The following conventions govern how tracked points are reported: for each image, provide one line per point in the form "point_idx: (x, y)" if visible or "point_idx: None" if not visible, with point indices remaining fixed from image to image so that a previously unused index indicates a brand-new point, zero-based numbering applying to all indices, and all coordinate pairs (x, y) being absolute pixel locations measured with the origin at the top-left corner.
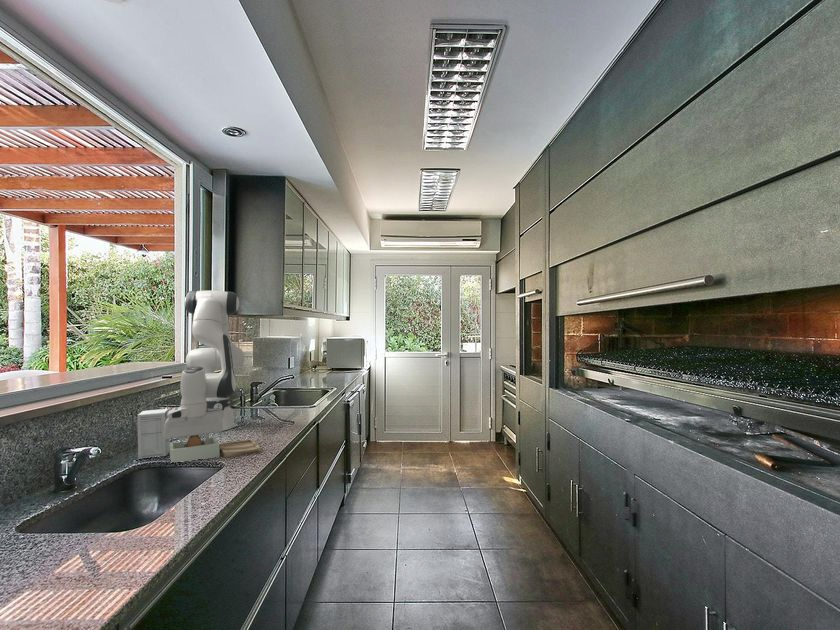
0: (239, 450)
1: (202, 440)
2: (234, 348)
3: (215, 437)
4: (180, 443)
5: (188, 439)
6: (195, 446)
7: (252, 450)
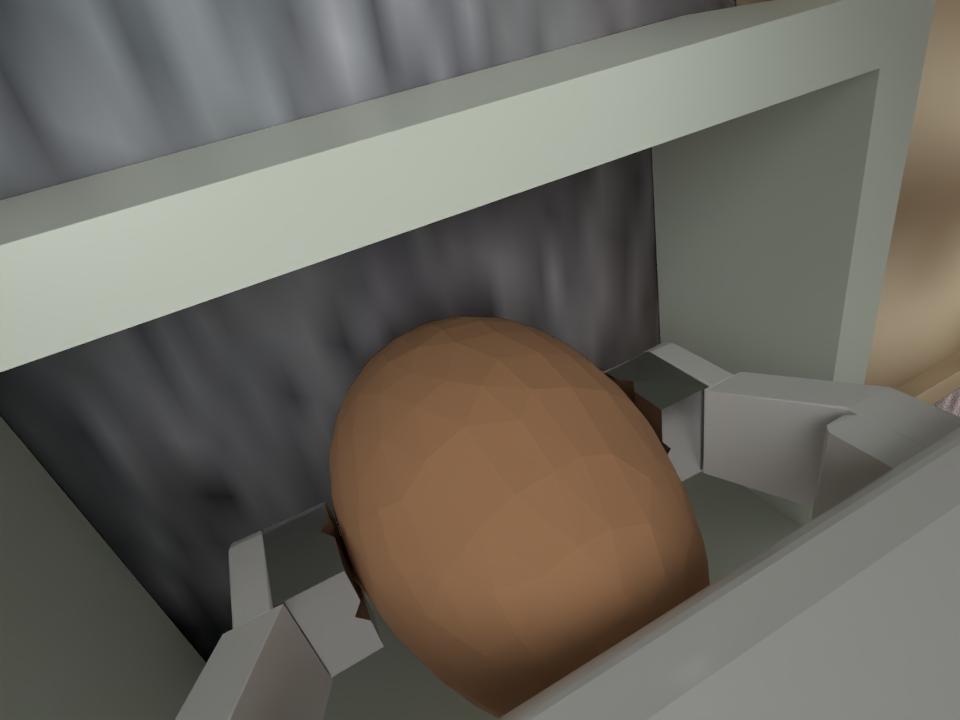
0: (880, 313)
1: (649, 132)
2: None
3: (925, 28)
4: (15, 354)
5: (441, 667)
6: None
7: (940, 393)
